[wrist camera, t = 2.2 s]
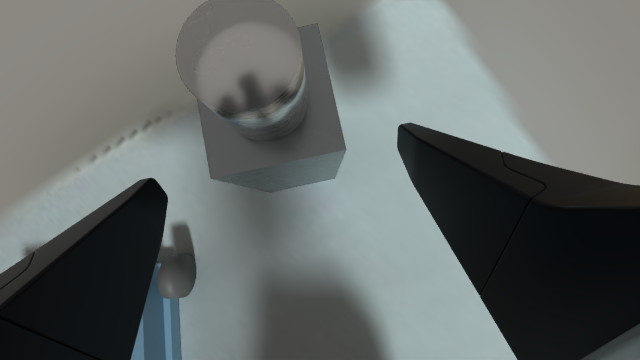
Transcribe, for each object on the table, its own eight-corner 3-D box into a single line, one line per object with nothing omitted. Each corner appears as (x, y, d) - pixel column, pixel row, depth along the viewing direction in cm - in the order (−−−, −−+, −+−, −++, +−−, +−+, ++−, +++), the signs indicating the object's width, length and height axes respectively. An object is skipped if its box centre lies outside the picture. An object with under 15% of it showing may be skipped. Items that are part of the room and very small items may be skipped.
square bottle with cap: (334, 178, 19) (356, 123, 6) (269, 192, 19) (156, 166, 6) (321, 115, 20) (314, -58, 7) (257, 128, 20) (128, -18, 7)
